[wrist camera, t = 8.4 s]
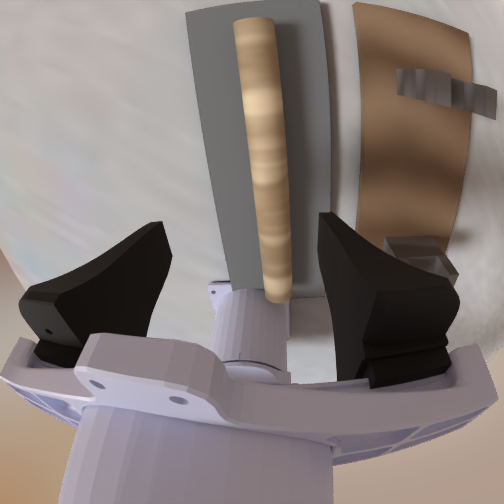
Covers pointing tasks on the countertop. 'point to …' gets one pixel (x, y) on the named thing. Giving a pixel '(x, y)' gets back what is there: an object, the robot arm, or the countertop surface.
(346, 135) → the countertop surface
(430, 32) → the hook stand
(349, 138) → the countertop surface
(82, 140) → the countertop surface
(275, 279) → the rail
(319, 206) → the mat
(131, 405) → the robot arm
